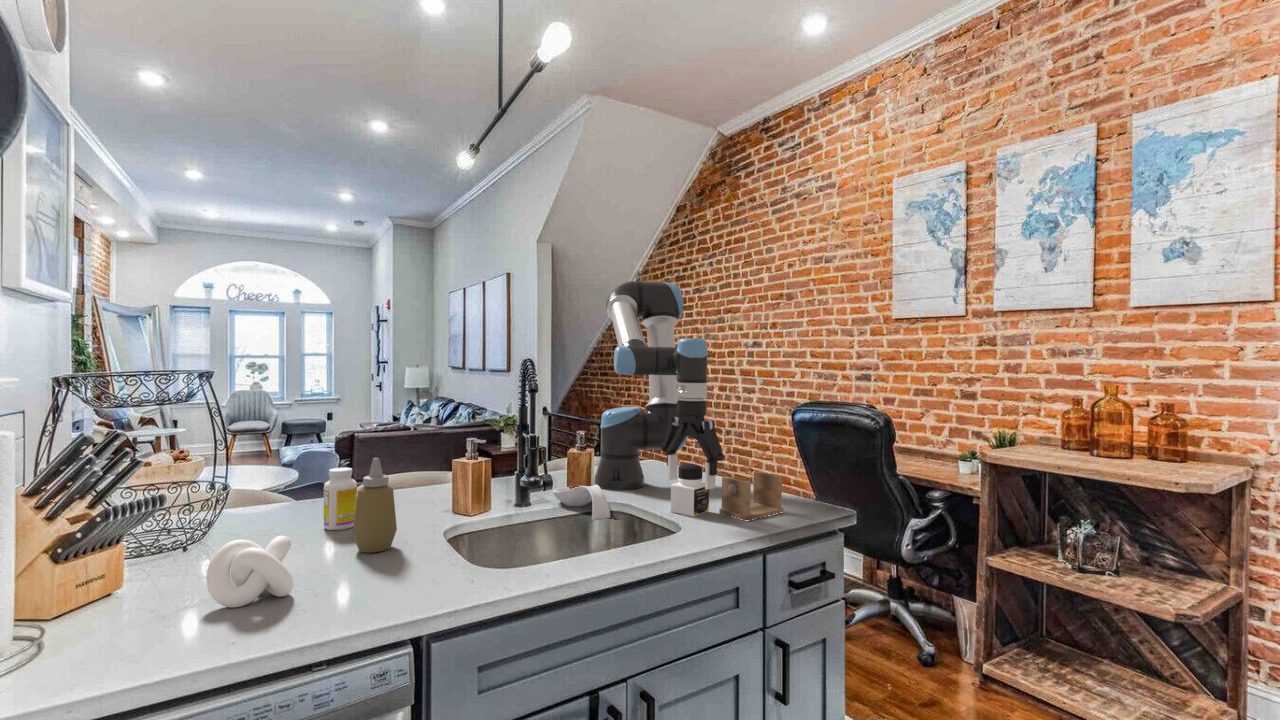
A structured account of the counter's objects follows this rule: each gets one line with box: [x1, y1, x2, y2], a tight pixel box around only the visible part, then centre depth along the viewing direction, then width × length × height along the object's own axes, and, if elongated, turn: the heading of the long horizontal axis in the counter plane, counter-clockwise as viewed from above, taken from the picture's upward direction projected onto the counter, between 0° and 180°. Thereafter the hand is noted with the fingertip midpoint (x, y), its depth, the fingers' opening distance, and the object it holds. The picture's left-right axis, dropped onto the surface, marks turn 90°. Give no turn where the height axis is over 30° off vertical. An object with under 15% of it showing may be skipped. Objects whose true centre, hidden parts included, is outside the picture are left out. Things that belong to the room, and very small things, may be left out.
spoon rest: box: [552, 485, 611, 521], centre depth 153 cm, size 24×12×7 cm, turn 28°
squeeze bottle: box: [352, 457, 398, 553], centre depth 118 cm, size 8×8×18 cm
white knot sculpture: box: [205, 535, 294, 609], centre depth 95 cm, size 11×12×9 cm
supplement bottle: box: [323, 467, 358, 531], centre depth 133 cm, size 7×7×13 cm
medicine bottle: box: [670, 463, 710, 518], centre depth 151 cm, size 7×7×12 cm
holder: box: [718, 471, 785, 521], centre depth 150 cm, size 9×15×9 cm, turn 129°
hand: (690, 484), depth 150 cm, fingers open, 13 cm apart
